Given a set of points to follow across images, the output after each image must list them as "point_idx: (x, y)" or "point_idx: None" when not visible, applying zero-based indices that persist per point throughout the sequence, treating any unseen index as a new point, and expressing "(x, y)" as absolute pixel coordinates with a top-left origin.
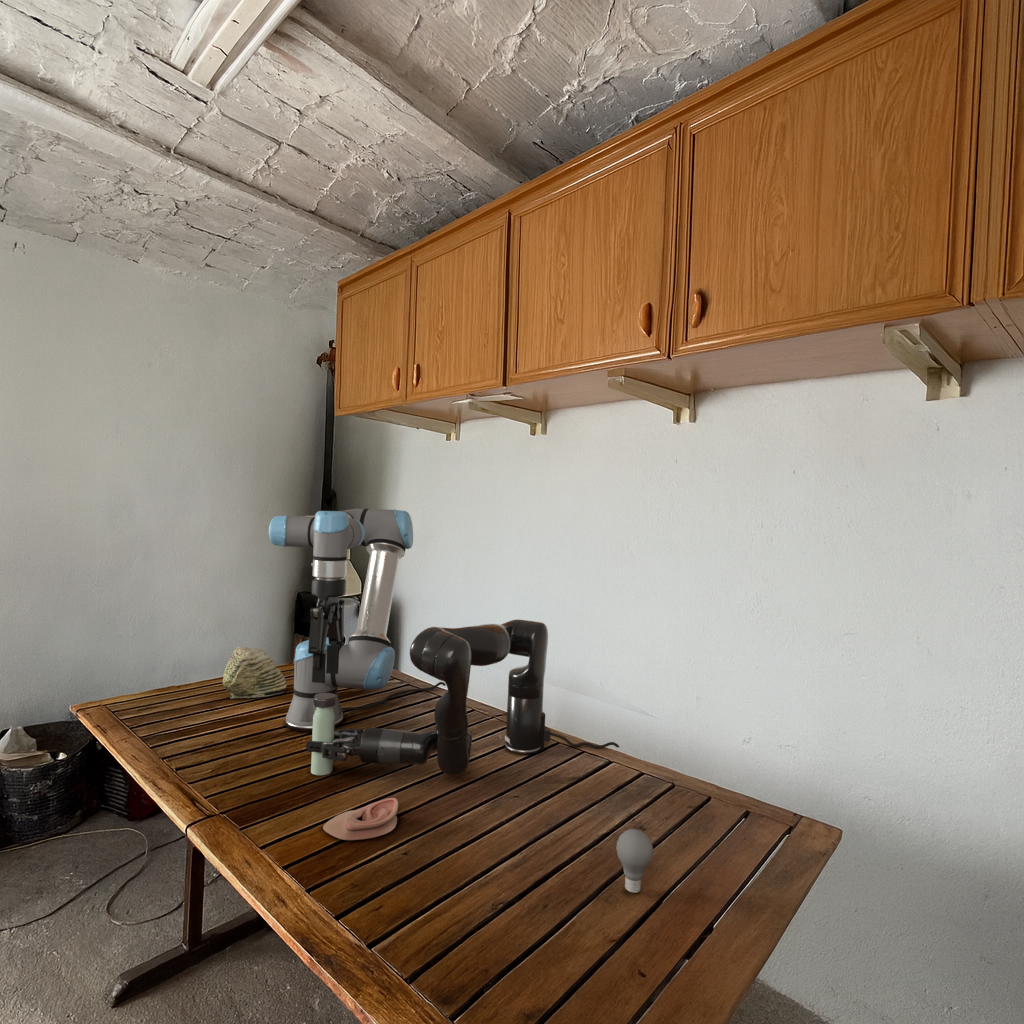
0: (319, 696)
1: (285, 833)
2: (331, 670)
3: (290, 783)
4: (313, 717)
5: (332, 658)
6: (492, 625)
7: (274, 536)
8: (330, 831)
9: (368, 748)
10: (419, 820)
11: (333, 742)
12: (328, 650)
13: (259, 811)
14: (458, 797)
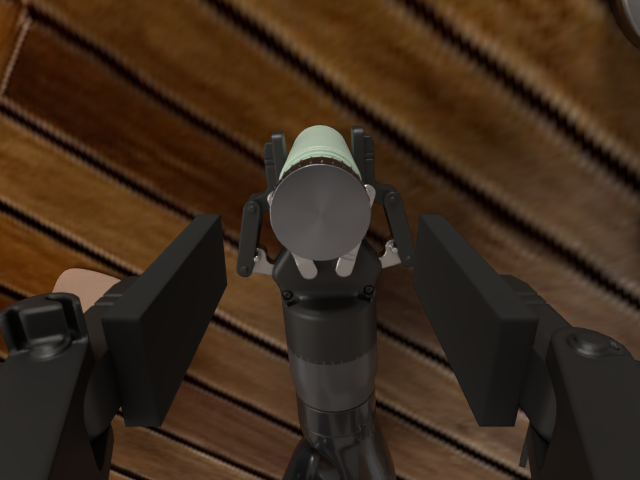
0: (302, 195)
1: (25, 206)
2: (420, 259)
3: (231, 105)
4: (296, 154)
5: (447, 305)
6: None
7: None
8: (53, 292)
9: (284, 319)
10: None
11: None
12: (477, 305)
13: (77, 103)
14: (270, 441)
